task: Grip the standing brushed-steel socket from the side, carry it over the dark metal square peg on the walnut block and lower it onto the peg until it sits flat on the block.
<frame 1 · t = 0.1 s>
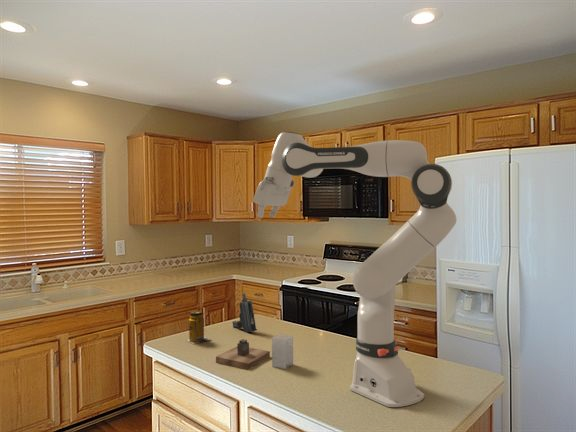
hand: (265, 217, 142), 52 cm above the worktop, tool tilted 20°, fingers open, 8 cm apart
condiment: (198, 340, 174), on the worktop
peg block: (243, 359, 151), on the worktop
socket: (282, 365, 145), on the worktop
gun: (244, 331, 188), on the worktop
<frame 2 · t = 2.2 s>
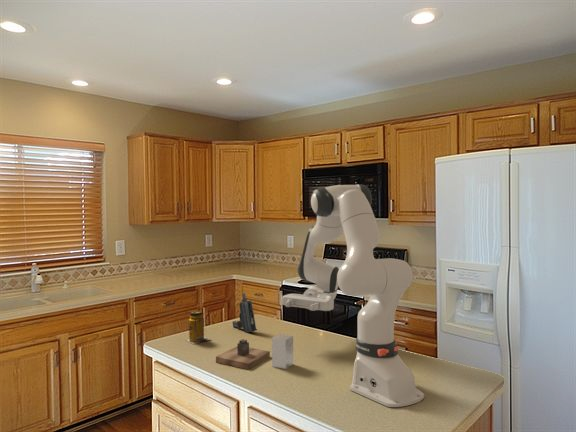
hand: (298, 306, 156), 18 cm above the worktop, tool horizontal, fingers open, 8 cm apart
nothing on the worktop moved.
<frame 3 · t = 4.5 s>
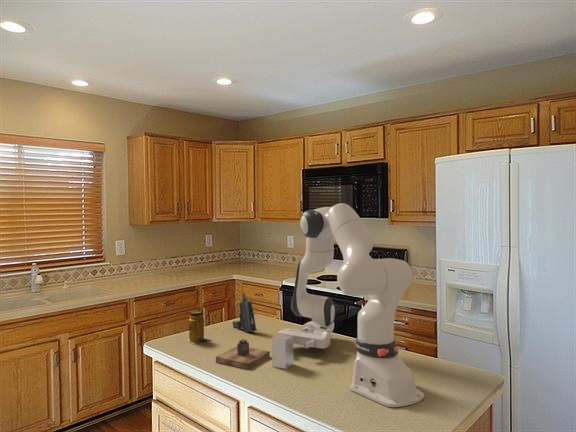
hand: (293, 343, 152), 5 cm above the worktop, tool horizontal, fingers open, 8 cm apart
nothing on the worktop moved.
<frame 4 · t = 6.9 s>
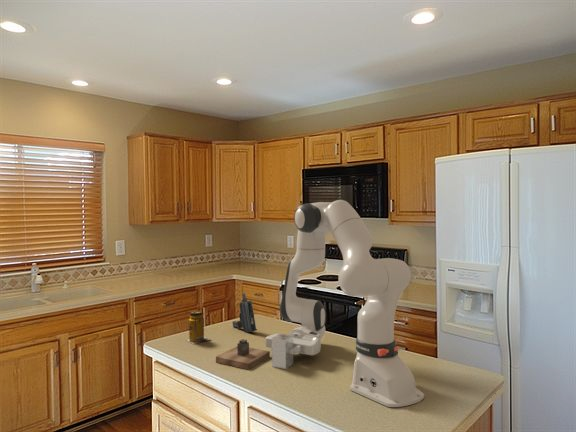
hand: (281, 350, 144), 6 cm above the worktop, tool horizontal, fingers closed on socket, 5 cm apart
socket: (282, 365, 145), on the worktop, touching gripper
everything else where it was.
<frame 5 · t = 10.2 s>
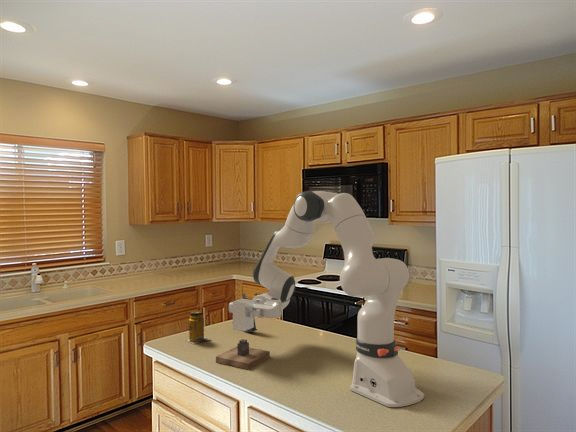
hand: (241, 313, 150), 17 cm above the worktop, tool horizontal, fingers closed on socket, 5 cm apart
socket: (243, 328, 151), point 11 cm above the worktop, touching gripper
everything else where it was.
when the fingers open (8 cm above the worktop, at t = 13.4 s): socket stays where it is, resting on peg block.
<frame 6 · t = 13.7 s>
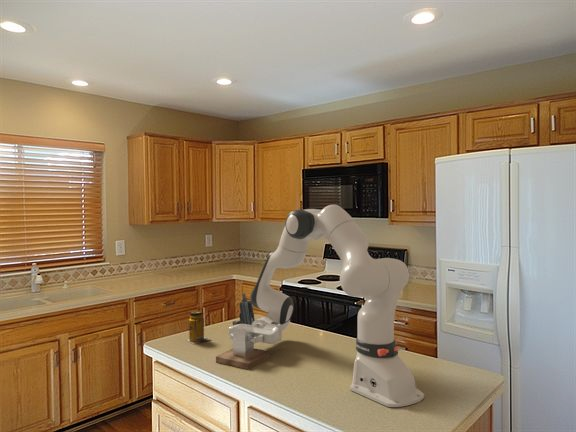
hand: (241, 339, 150), 8 cm above the worktop, tool horizontal, fingers open, 8 cm apart
socket: (243, 353, 151), point 2 cm above the worktop, touching peg block
everything else where it was.
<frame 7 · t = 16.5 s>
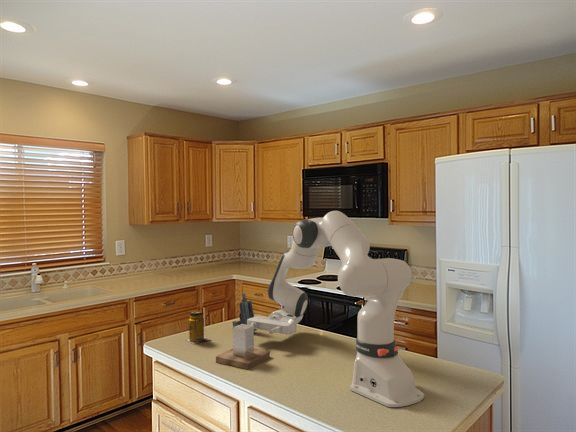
hand: (260, 330, 161), 8 cm above the worktop, tool horizontal, fingers open, 8 cm apart
nothing on the worktop moved.
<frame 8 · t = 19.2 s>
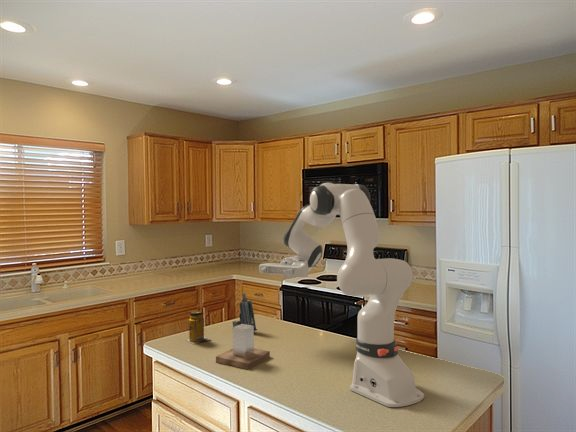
hand: (272, 272, 164), 30 cm above the worktop, tool horizontal, fingers open, 8 cm apart
nothing on the worktop moved.
at the end: socket 0.1 cm from the peg block (horizontally); socket point 2.0 cm above the worktop; socket tilted 0° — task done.
